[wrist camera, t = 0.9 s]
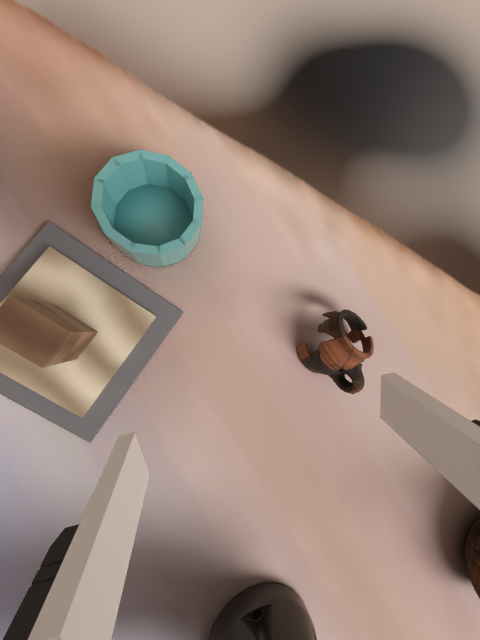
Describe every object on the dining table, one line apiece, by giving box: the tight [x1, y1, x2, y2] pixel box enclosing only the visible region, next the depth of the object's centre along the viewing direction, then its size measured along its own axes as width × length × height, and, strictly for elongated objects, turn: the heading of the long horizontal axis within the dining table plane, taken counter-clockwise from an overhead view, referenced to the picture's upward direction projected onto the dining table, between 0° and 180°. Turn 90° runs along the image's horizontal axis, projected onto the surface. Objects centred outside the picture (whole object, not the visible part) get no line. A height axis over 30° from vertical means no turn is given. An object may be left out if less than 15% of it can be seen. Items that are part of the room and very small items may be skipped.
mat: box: [0, 222, 183, 442], centre depth 31 cm, size 20×20×1 cm
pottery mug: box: [297, 310, 374, 394], centre depth 37 cm, size 12×10×8 cm
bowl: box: [91, 150, 203, 267], centre depth 31 cm, size 12×12×6 cm
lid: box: [0, 246, 156, 418], centre depth 27 cm, size 15×15×8 cm
